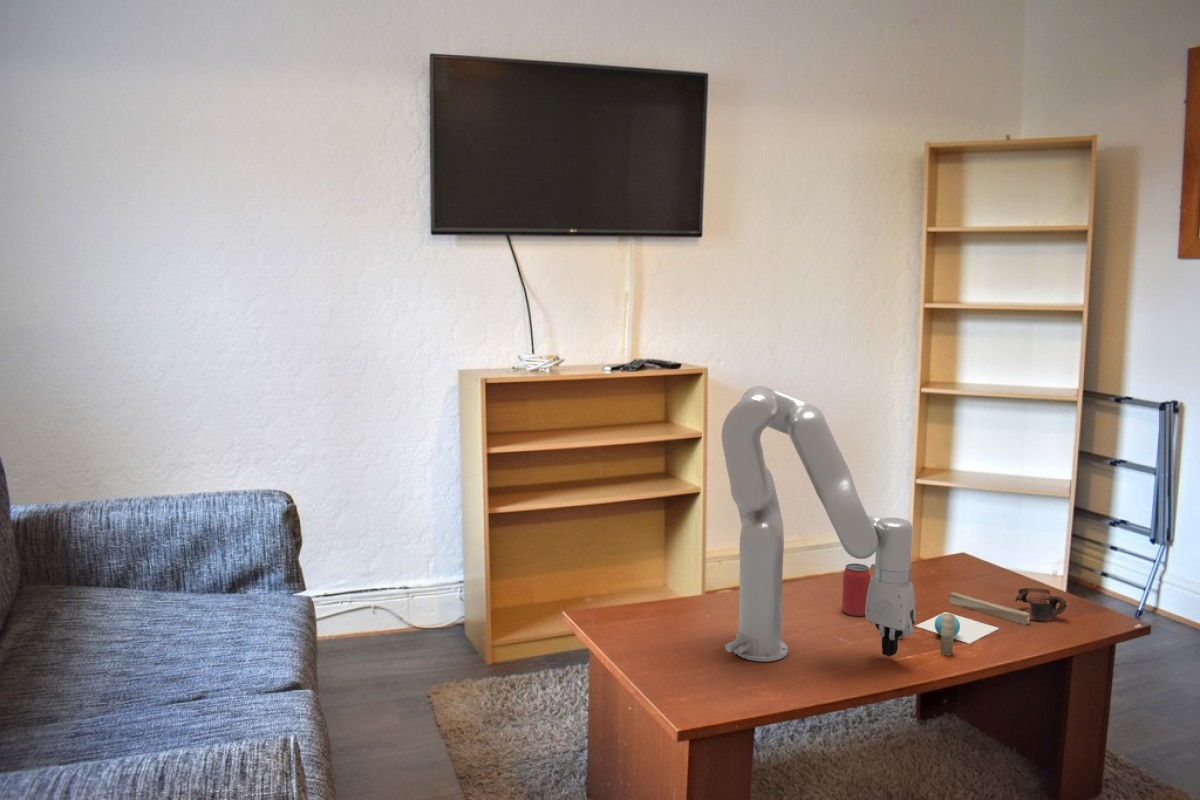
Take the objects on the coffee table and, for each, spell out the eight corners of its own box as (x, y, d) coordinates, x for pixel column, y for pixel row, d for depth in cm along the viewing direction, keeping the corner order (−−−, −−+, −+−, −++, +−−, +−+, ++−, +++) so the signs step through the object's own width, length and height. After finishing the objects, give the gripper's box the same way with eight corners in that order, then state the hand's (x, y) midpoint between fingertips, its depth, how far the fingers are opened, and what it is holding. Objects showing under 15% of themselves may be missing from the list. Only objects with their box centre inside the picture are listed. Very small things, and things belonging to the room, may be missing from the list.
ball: (959, 613, 214) (967, 625, 217) (938, 605, 219) (947, 617, 222) (947, 633, 213) (956, 645, 215) (926, 625, 217) (935, 637, 220)
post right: (948, 657, 206) (950, 618, 205) (938, 653, 208) (939, 615, 207) (954, 653, 208) (956, 615, 207) (944, 650, 210) (946, 612, 209)
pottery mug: (1011, 620, 229) (1009, 587, 232) (1024, 626, 236) (1022, 594, 239) (1063, 619, 222) (1060, 585, 225) (1075, 626, 228) (1072, 593, 231)
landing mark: (969, 644, 213) (969, 643, 213) (915, 626, 224) (915, 625, 224) (999, 629, 222) (999, 628, 222) (945, 612, 233) (945, 611, 233)
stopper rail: (1025, 625, 224) (1025, 615, 224) (949, 603, 239) (949, 593, 239) (1029, 623, 225) (1029, 613, 225) (953, 601, 241) (953, 592, 240)
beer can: (872, 617, 230) (873, 571, 228) (845, 617, 230) (847, 570, 228) (865, 607, 237) (866, 562, 235) (839, 607, 237) (840, 562, 235)
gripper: (853, 569, 205) (850, 648, 208) (913, 587, 194) (910, 669, 196) (873, 563, 210) (870, 639, 212) (932, 579, 199) (929, 660, 201)
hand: (889, 653), depth 204 cm, fingers closed
